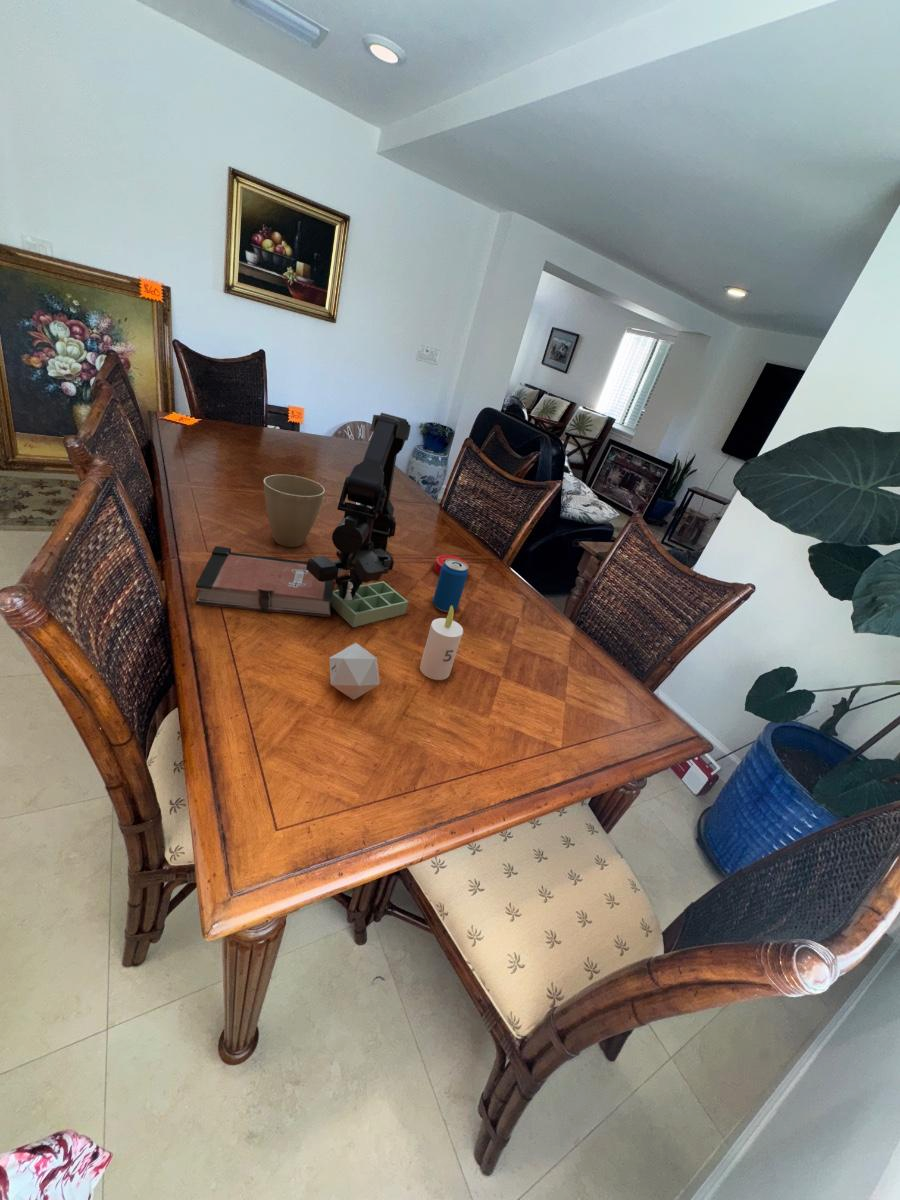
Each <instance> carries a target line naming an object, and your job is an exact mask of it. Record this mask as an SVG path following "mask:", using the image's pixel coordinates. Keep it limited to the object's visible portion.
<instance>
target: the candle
mask: <svg viewBox="0 0 900 1200" xmlns="http://www.w3.org/2000/svg"><path fill="white" fill-rule="evenodd" d="M454 614H455V611H454V610H453V606H452V605H451V606H450V609H449V612H447V615H446V617H439V618H435V619H433V620H432V621H431V624H430V627H429V631H428V634H427V638H426V643H425V646H424V650H423V652H422V657H421V659H420V664H419V669H420V672H421V674H423V675H424V676H425V677H427V678H429V679H431V680H434V681H435V680H436V681H444V680H446V679H448V678H449V677H450V675H451V672H452V668H453V666H454V663H455V659H456V656H457V653H458V649H459V646H460V643H461V640H462V637H463V635H464V629H463V626H462V625H461V624H460V623H459V622H457V621H455V620H454Z"/></svg>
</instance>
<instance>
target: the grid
mask: <svg viewBox="0 0 900 1200" xmlns="http://www.w3.org/2000/svg"><path fill="white" fill-rule="evenodd" d="M408 605H409V601H408V600H407V599H406V598H405V597H404V596H402V595H401V594H400V593H399V592H397V591H396V590H395V589H393V587H391V586H390V585H389V584H388V583H386V582H385V581H384V580H383V581H376V582H372V583H365V584H361V585H360V587H359V588H358V590H357V592H356V593H355V595H354V596H353V597H352V600H349V601H345V602H344V601H343V600H342V599H341V596H340V593H339V590H338V589H336V590H335V589H334V590H333V594H332V602H331V608H332V609H334V611H335V612H337V614H338V615H339V616H341V618H342V619H343V620H345V621H346V622H347V623H348V624H349V626H351V628H356V627H361V626H365V625H368V624H372V623H376V622H379V621H384V620H386V619H392V618H396V617H399V616H404V615H407V610H408Z"/></svg>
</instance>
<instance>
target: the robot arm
mask: <svg viewBox="0 0 900 1200" xmlns="http://www.w3.org/2000/svg"><path fill="white" fill-rule="evenodd" d="M411 427H412V425H411V424H410V423H409V421H408V420H407V418H404V417H399V416H396V415H392V414H388V413H386V412H380V414H373V415H372V420H371V425H370V429H369V431H370V432H372V435H371V437H370V440H369V442H368V446H367V448H366V451H365V454H364V457H363V459H362V461H360V462H359V463H357V464H355V465H354V466H353V467H352V469H351V471H350V474H349V475H347V476H346V477H345V480H344V483H343V486H342V489H341V493H340V497H339V500H338V504H337V507H336V508H337V511H341V512H344V515H343V517H342V520H341V521H339V523H338V524H337V526H336V527H335V529H334V530H333V532H332V535H331V541H332V544H333V545H334V547H335V548H336V549H337V550H336V553H335V555H336V557H337V558H338V560H331V559H330V558H328V556H326V555H322V556H314V557H310V558H309V559H308V560H307V561H306V562H307V568H306V569H307V570H308V571H309V572H310V573H311V574H312V575H313V576H314V577H315V578H316V579H317V580H318V581H321V582H325V581H331V580H333V581H334V580H335V584H336V587H337V590H339V593H340V596H341V598H342V599H345V596H346V592H347V586H348V582H351V583H352V584H353V588H352V589H350V590H351V592H350V593H351V595H352V597H353V596H354V595H355V593H356V592H357V590H358V588H359V587H360V586H361V585H363V584H362V583H365V584H368V583H370V582H374V581H375V582H379V580H380V579H381V578H382V576H383V575H387V574H388V573H389V571H392V570H393V569H394V564H395V561H394V558H393V556H391V554H390V552H389V551H388V550H387V547H388V539H391V538H392V537H394V536H395V534H396V529H397V528H396V527H397V522H396V516H394V513H395V508H394V505H393V504H392V501H391V495H392V494H391V493H392V487H393V480H394V476H395V475H394V474H395V468H396V463H397V462H396V461H397V457H398V456H397V455H398V454H399V453H400V452H401V451H402V450H403V449H404V446H405V443H406V441H408V440H409V437H410V433H411ZM346 499H347V501H346ZM348 501H349V502H348Z"/></svg>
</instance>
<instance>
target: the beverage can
mask: <svg viewBox="0 0 900 1200" xmlns="http://www.w3.org/2000/svg"><path fill="white" fill-rule="evenodd" d="M468 566H469V565H468ZM468 566H467V565H466V564H465V563H464V562H462V561H460V560H456V559H447V560H446V561H445V563H444V564H443V565H442V567H441V571H440V575H438V579H437V583H436V587H435V590H434V595H433V597H432V598H433V599H432V604H433V606H434V607H435V608H436V609H437V610H439V611H441V612H444V613H448V612H449V609H450V606H451V605H452V606H453V610H454V612H455V611H456V610H458V608H459V605H460V602H461V598H462V595H463V591H464V588H465V586H466V585H465V584H466V581H467V577H468V574H469V569H468V570H467V568H468Z"/></svg>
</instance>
